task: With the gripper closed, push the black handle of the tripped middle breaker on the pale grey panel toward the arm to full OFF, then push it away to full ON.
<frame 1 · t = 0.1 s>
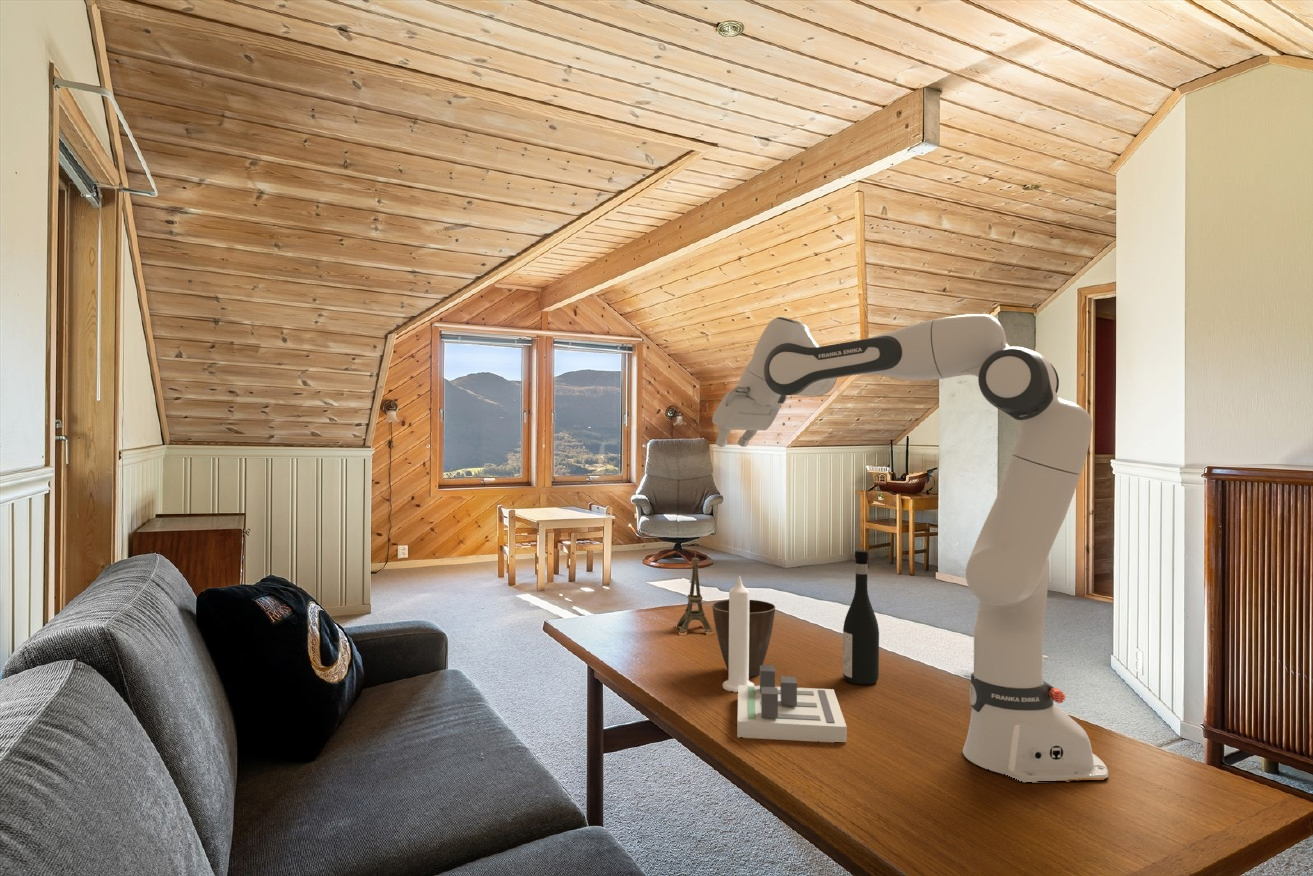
hand: (730, 445, 166), 54 cm above the table, tool tilted 30°, fingers open, 8 cm apart
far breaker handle: (767, 678, 160), point 6 cm above the table, slide at 8.0 cm
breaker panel: (788, 719, 152), on the table
candle: (738, 688, 171), on the table
eiffel tower: (694, 631, 222), on the table
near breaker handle: (769, 702, 146), point 6 cm above the table, slide at 8.0 cm
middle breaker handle: (788, 690, 152), point 6 cm above the table, slide at 4.0 cm
wine bottle: (860, 681, 177), on the table
plant pot: (743, 673, 182), on the table
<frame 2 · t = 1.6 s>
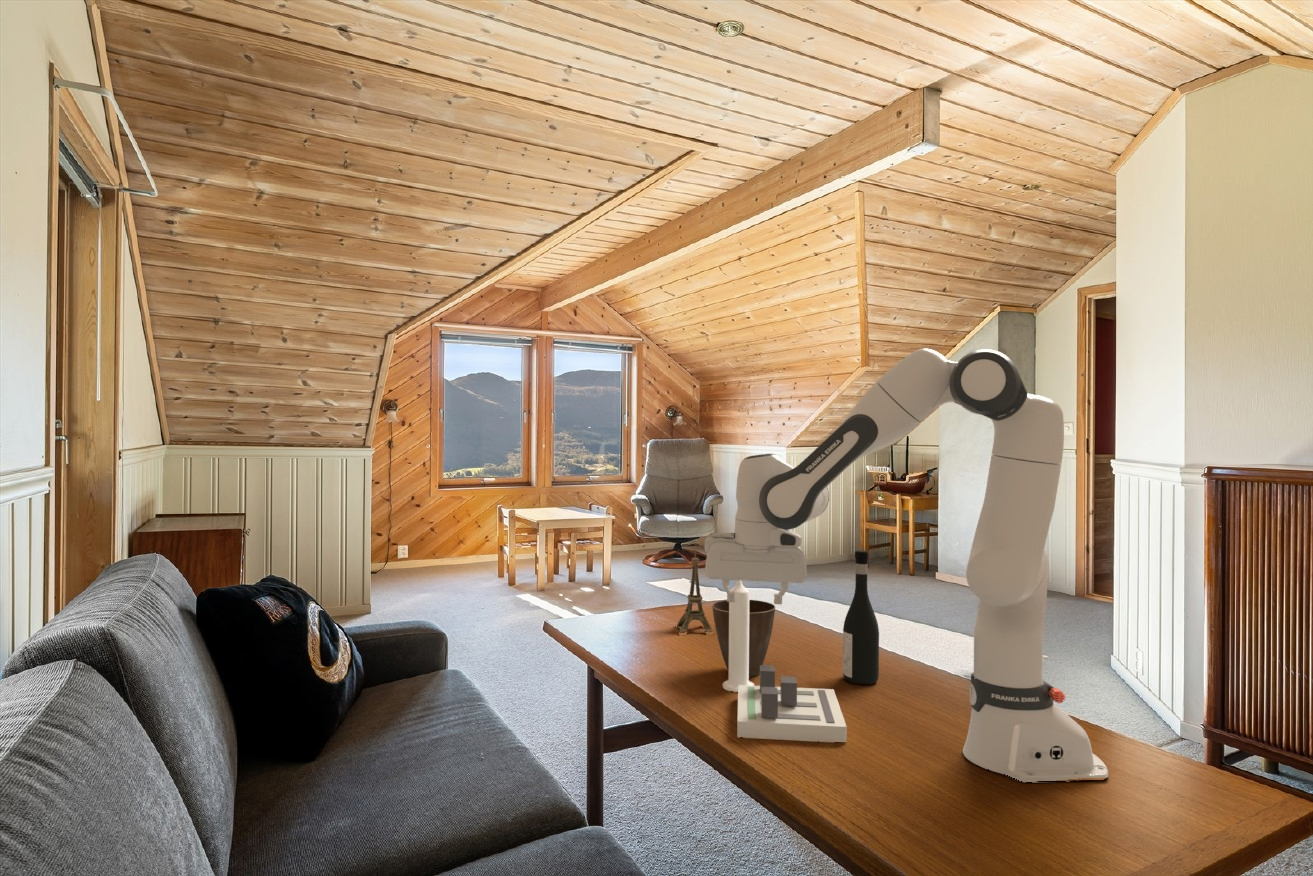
hand: (754, 602, 154), 23 cm above the table, tool pointing down, fingers open, 8 cm apart
nothing on the table moved.
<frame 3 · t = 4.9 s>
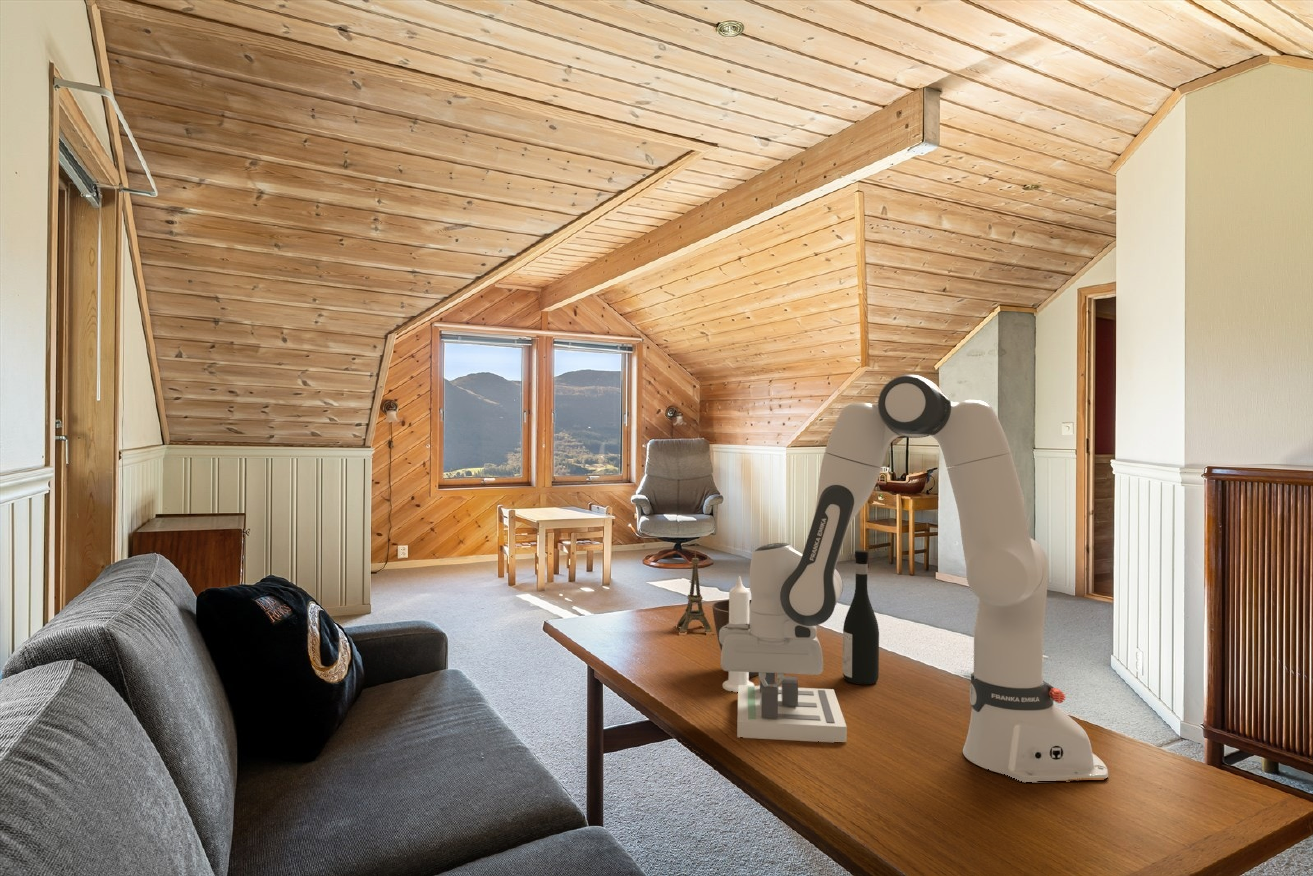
hand: (771, 694, 153), 5 cm above the table, tool pointing down, fingers closed
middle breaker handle: (789, 690, 152), point 6 cm above the table, slide at 3.8 cm, touching gripper
everything else where it was.
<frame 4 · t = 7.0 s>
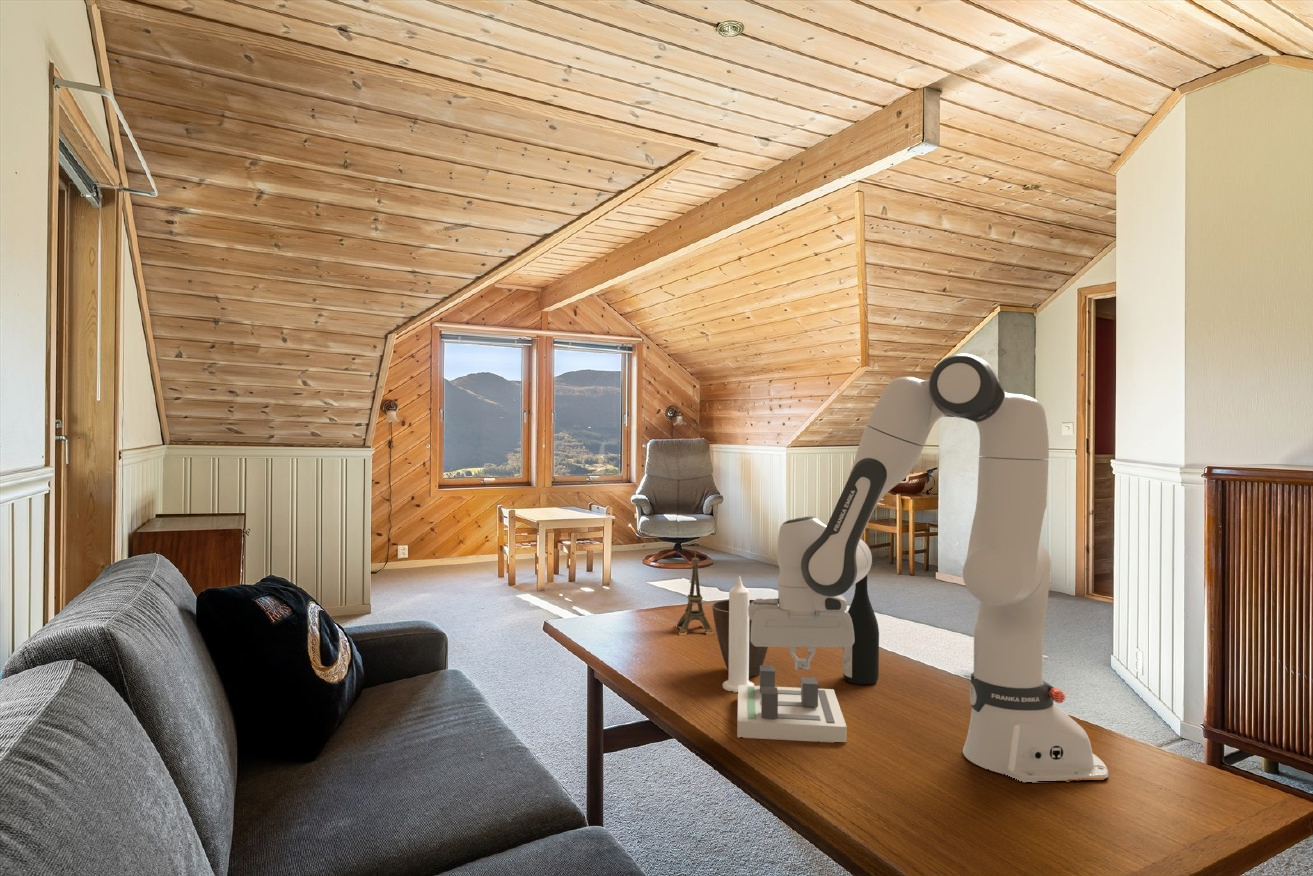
hand: (802, 668, 152), 10 cm above the table, tool pointing down, fingers closed
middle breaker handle: (809, 691, 152), point 6 cm above the table, slide at -0.1 cm
everything else where it was.
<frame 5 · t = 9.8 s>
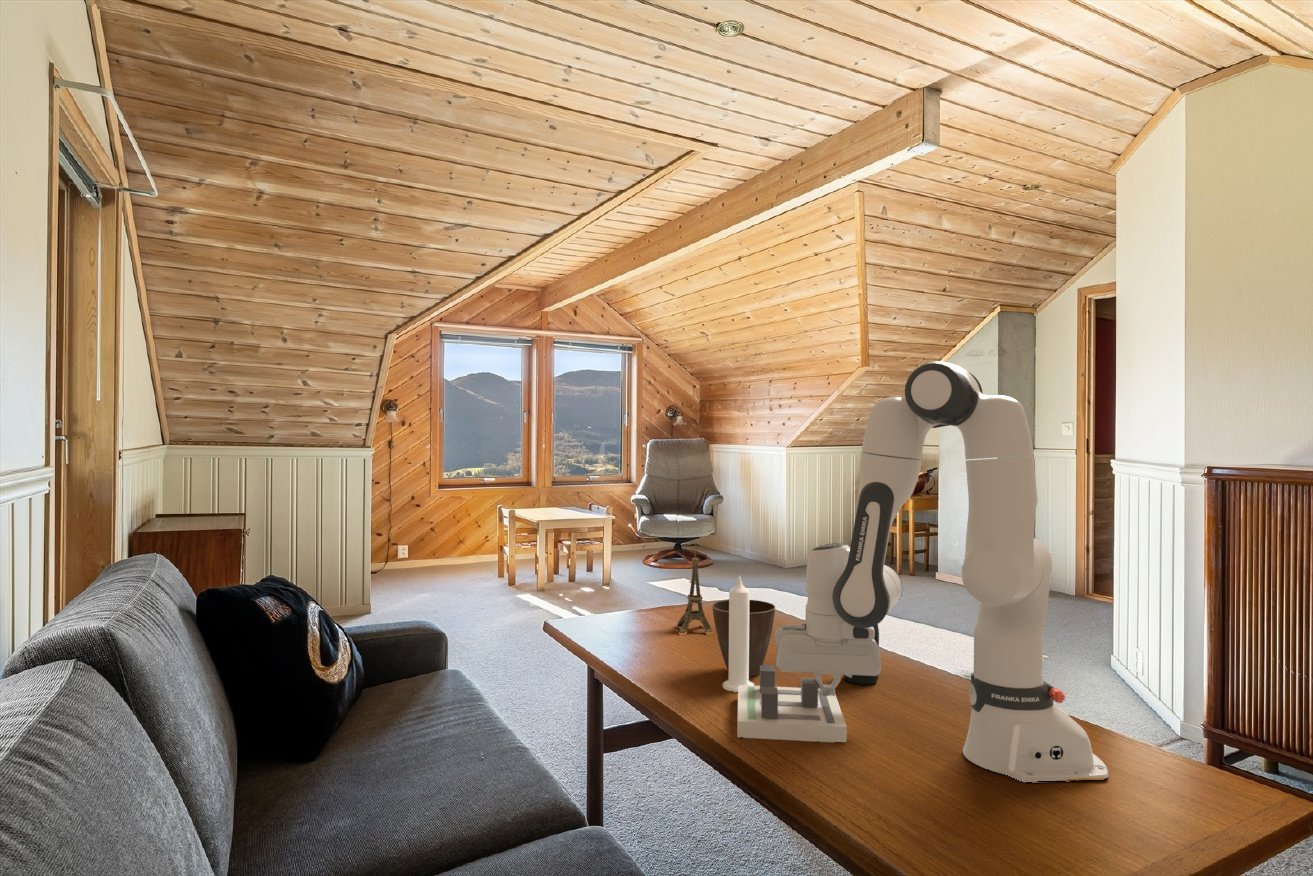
hand: (827, 695, 152), 5 cm above the table, tool pointing down, fingers closed
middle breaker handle: (809, 691, 152), point 6 cm above the table, slide at 0.0 cm, touching gripper
everything else where it was.
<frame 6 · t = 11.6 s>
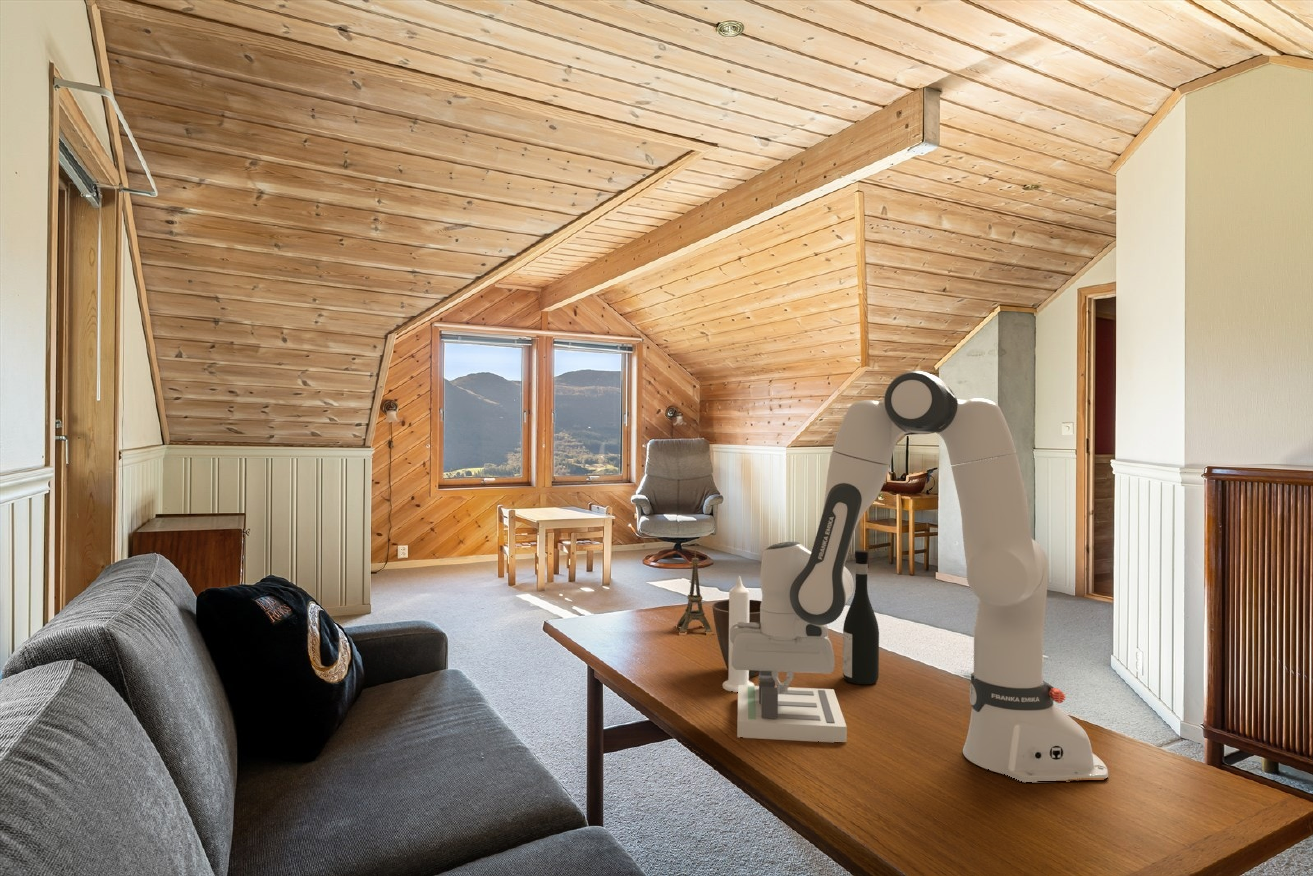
hand: (782, 692, 153), 5 cm above the table, tool pointing down, fingers closed
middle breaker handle: (766, 689, 153), point 6 cm above the table, slide at 8.3 cm, touching gripper
everything else where it was.
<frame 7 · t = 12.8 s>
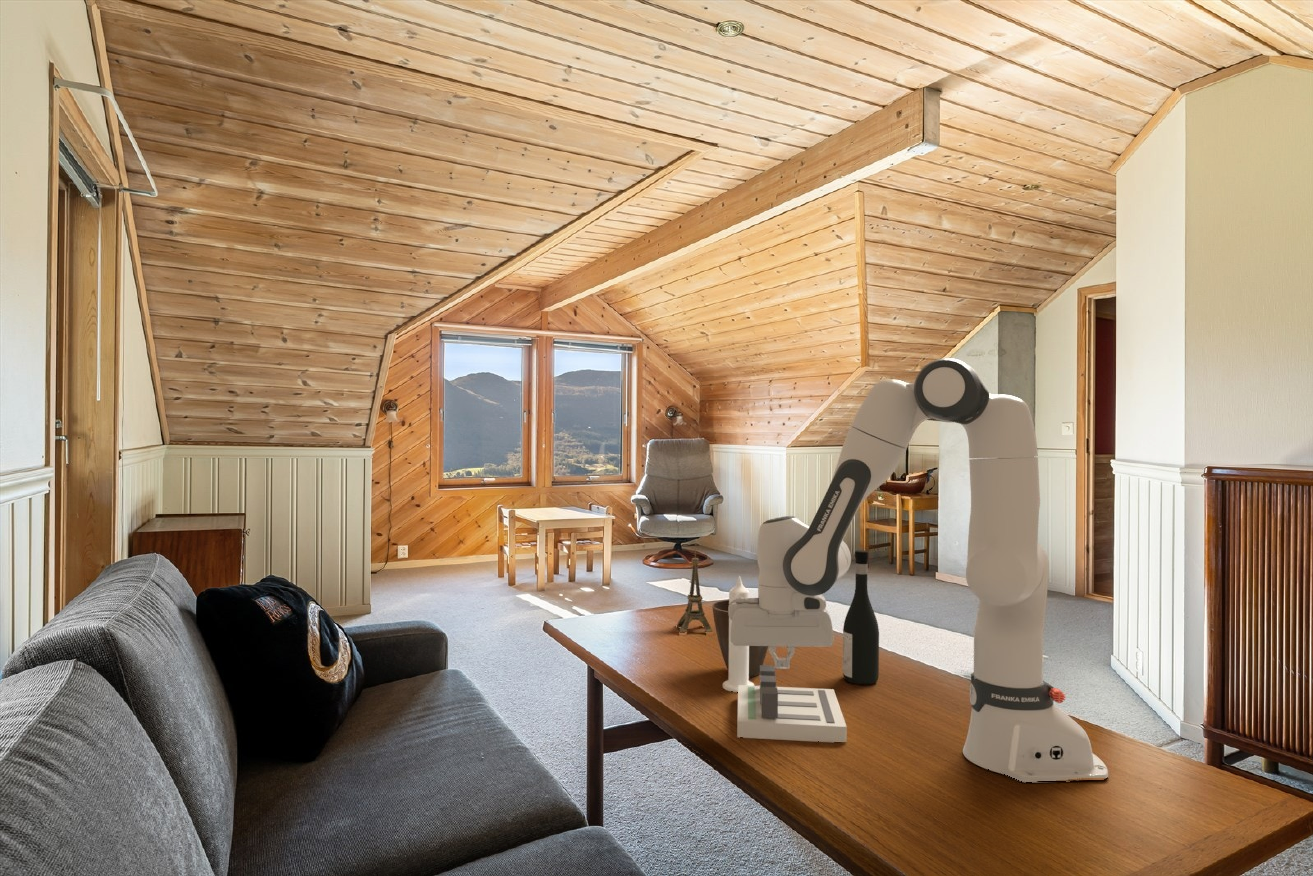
hand: (782, 667, 152), 10 cm above the table, tool pointing down, fingers closed
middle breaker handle: (767, 689, 153), point 6 cm above the table, slide at 8.1 cm
everything else where it was.
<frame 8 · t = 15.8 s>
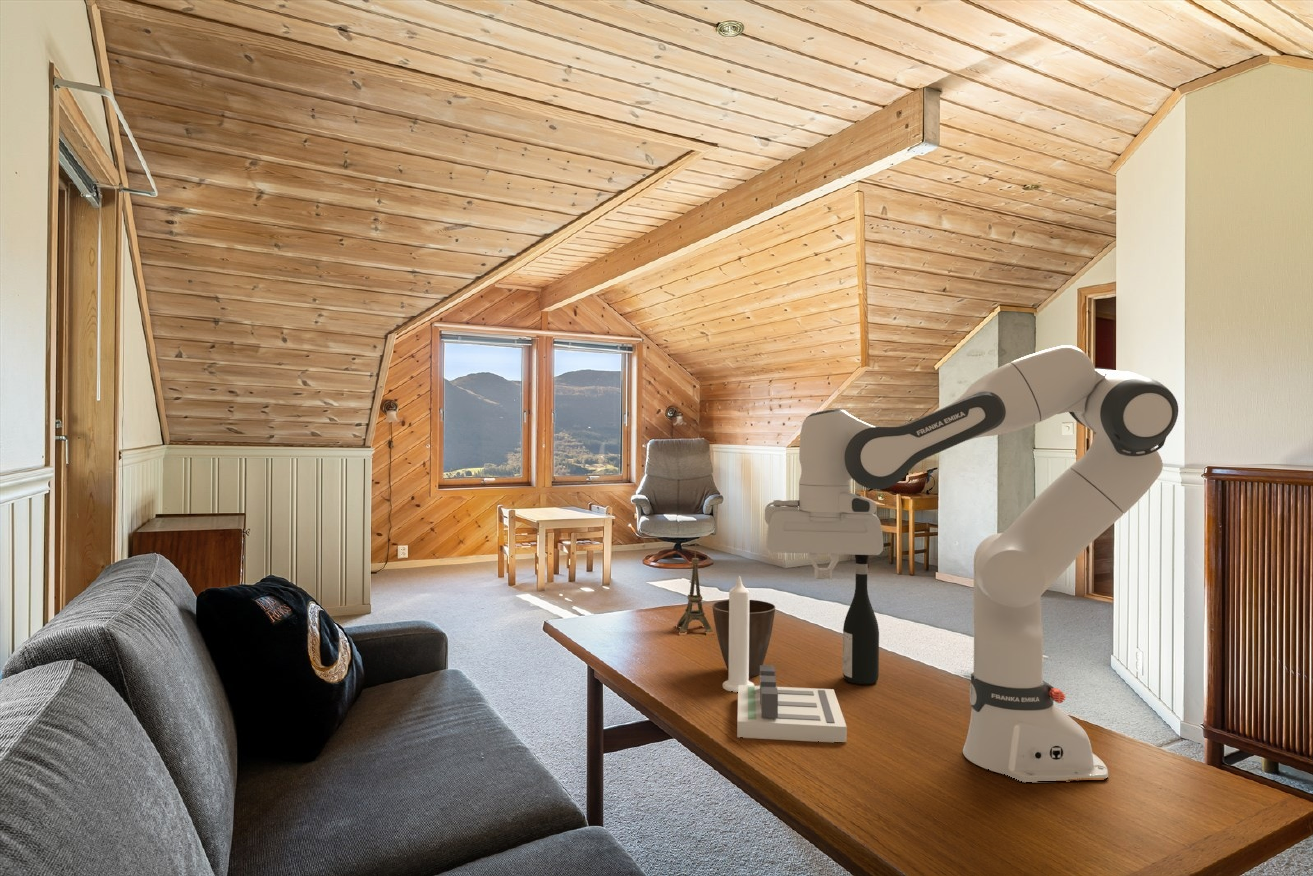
hand: (823, 578, 136), 31 cm above the table, tool pointing down, fingers closed
nothing on the table moved.
at the end: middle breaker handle slide at 8.1 cm; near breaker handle slide at 8.0 cm; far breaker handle slide at 8.0 cm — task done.
